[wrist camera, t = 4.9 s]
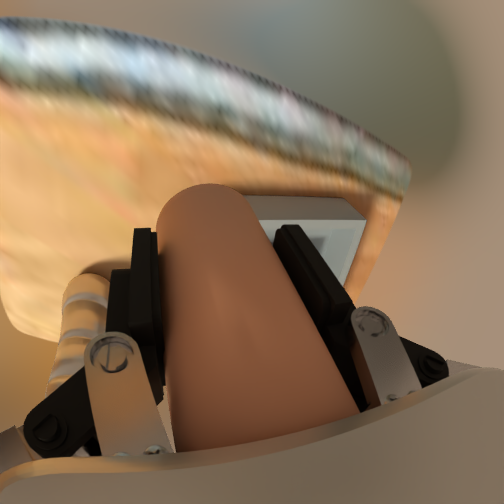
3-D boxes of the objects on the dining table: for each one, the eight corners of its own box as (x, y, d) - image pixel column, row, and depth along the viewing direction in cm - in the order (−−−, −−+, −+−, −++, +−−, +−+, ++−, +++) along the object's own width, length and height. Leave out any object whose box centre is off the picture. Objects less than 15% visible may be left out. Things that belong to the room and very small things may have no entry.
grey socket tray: (177, 195, 29) (181, 221, 25) (343, 197, 34) (366, 220, 30) (179, 335, 40) (184, 366, 36) (303, 322, 45) (316, 347, 41)
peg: (155, 184, 11) (185, 508, 3) (261, 184, 12) (421, 436, 4) (157, 271, 13) (193, 524, 5) (248, 267, 14) (340, 489, 6)
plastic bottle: (123, 271, 32) (123, 453, 16) (115, 313, 35) (118, 475, 19) (68, 260, 29) (32, 440, 13) (66, 304, 32) (47, 465, 17)
